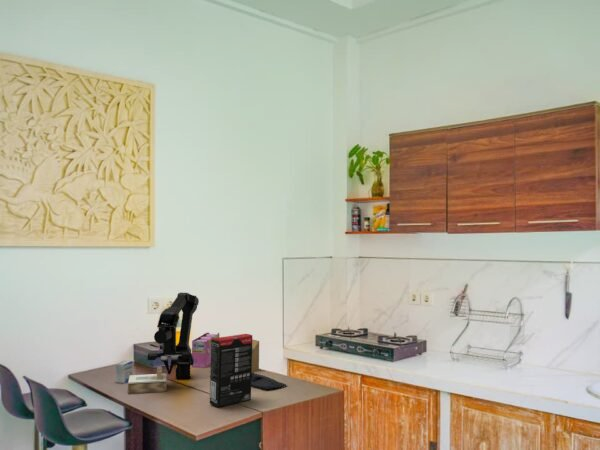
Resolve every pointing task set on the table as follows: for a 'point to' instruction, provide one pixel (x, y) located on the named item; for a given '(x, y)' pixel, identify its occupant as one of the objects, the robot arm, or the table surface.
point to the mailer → (146, 387)
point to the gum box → (202, 350)
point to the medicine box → (124, 371)
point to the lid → (148, 377)
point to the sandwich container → (255, 355)
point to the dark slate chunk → (264, 382)
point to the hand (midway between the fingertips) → (169, 374)
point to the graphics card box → (230, 369)
